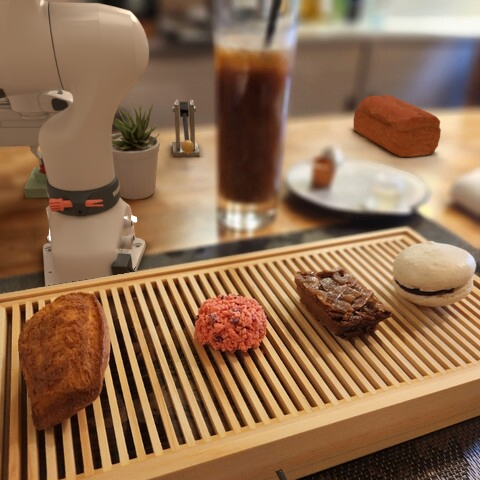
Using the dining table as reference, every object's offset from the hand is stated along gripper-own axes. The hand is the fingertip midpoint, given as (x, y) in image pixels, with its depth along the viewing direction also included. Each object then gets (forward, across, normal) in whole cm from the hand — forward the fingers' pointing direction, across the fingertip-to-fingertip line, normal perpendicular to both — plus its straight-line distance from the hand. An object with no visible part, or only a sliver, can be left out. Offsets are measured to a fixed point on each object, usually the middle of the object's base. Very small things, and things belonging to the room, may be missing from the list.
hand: (47, 164), depth 104 cm
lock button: (+2, 0, 0) cm, 2 cm away
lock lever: (-2, +33, +16) cm, 36 cm away
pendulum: (+5, +33, +21) cm, 39 cm away
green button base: (+5, 0, 0) cm, 5 cm away
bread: (+5, +96, +26) cm, 99 cm away
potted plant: (+6, +19, -5) cm, 20 cm away
